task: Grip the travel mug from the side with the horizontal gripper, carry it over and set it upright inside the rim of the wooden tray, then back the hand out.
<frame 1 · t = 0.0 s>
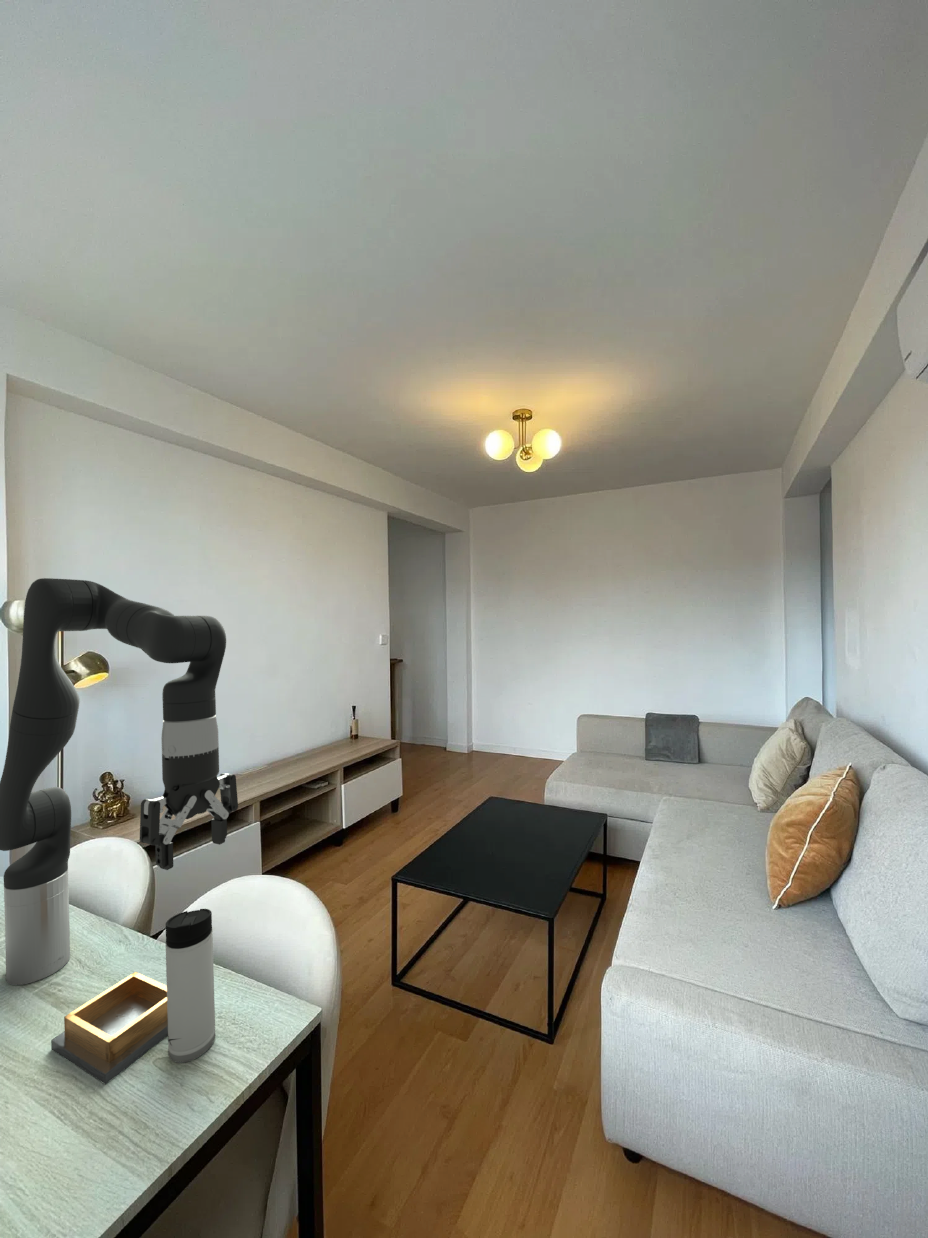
hand: (193, 855, 74), 29 cm above the table, tool pointing down, fingers open, 8 cm apart
wooden tray: (124, 1032, 78), on the table
travel mug: (192, 1048, 75), on the table
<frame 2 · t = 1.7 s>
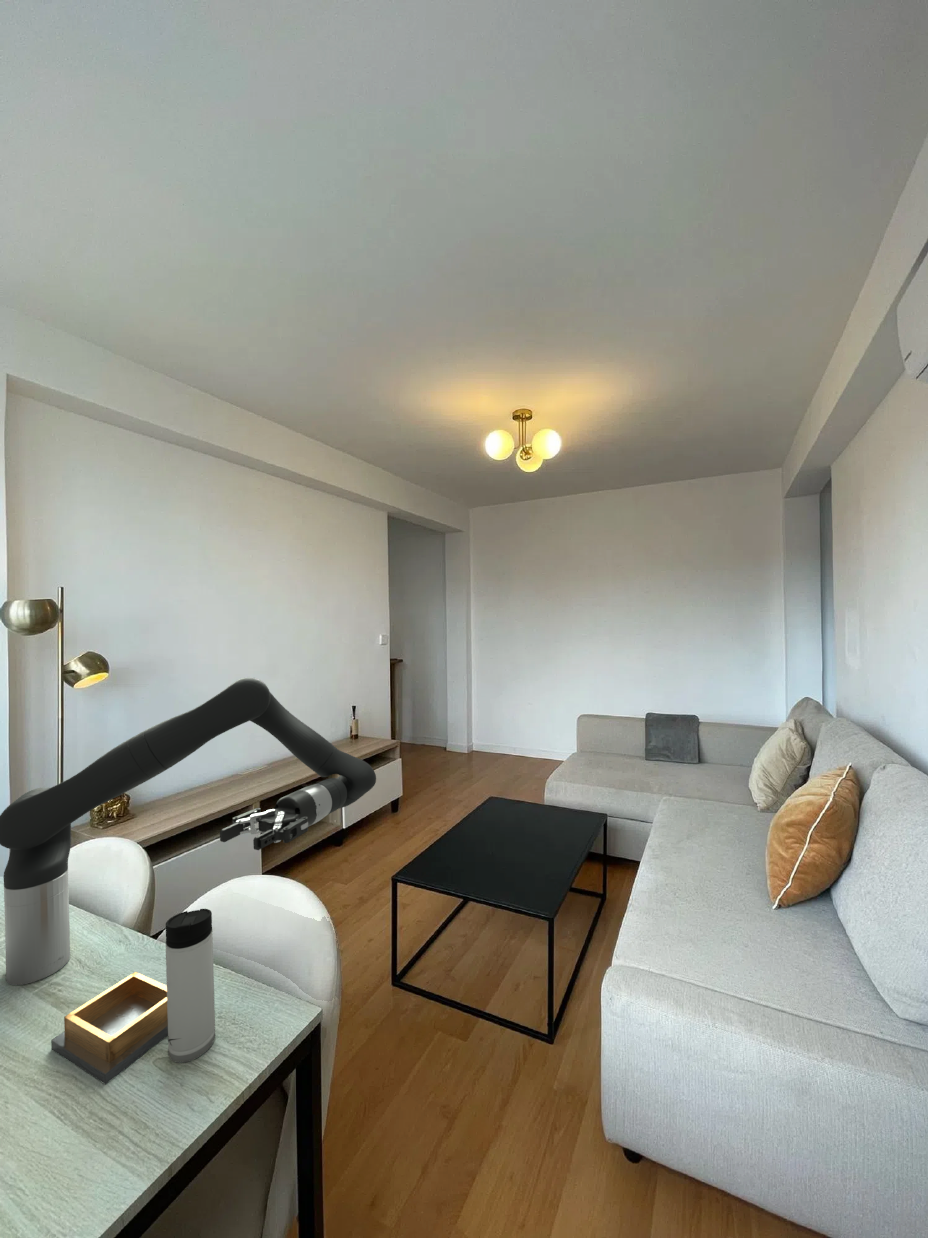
hand: (237, 840, 87), 26 cm above the table, tool horizontal, fingers open, 8 cm apart
nothing on the table moved.
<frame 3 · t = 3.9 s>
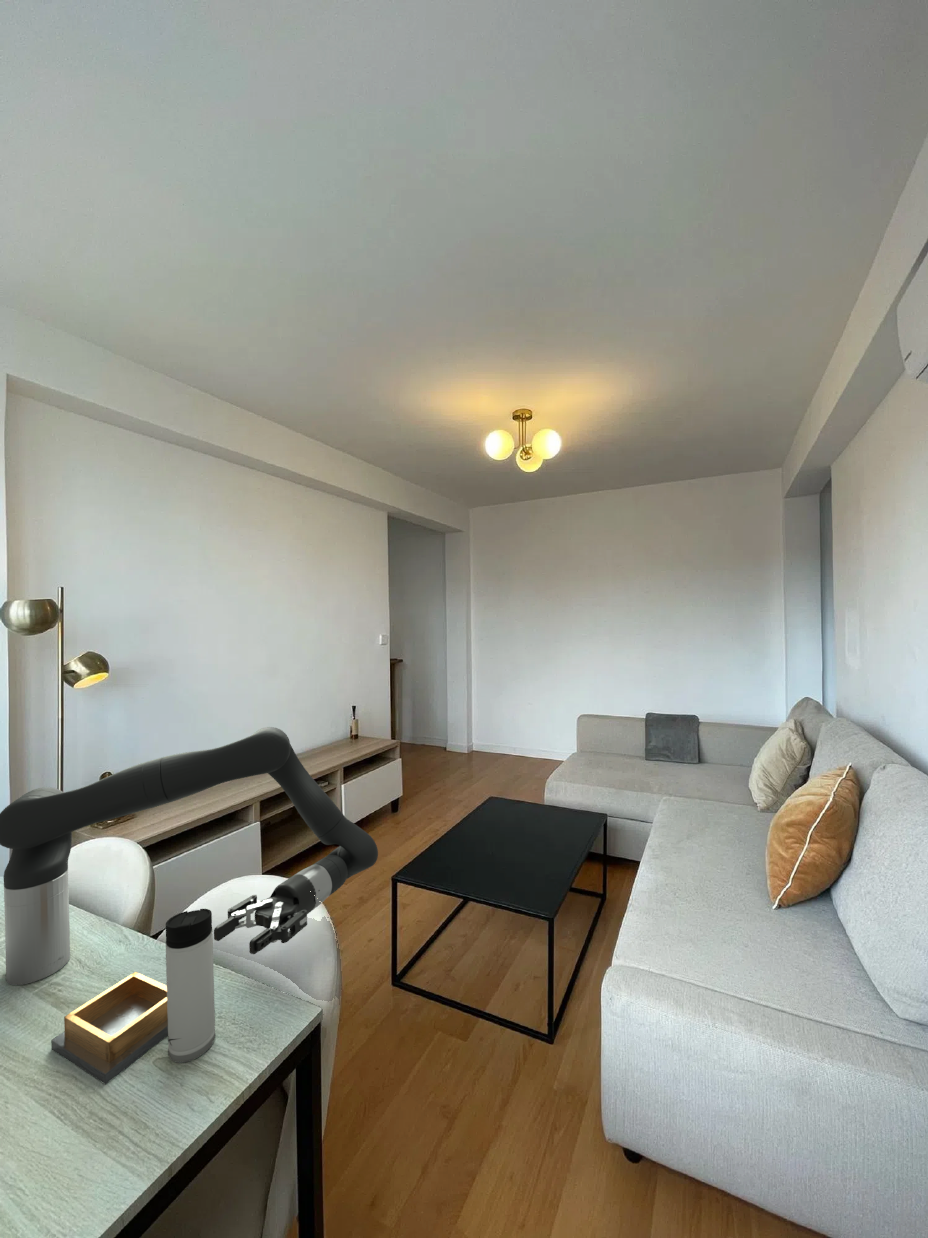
hand: (232, 941, 82), 11 cm above the table, tool horizontal, fingers open, 8 cm apart
nothing on the table moved.
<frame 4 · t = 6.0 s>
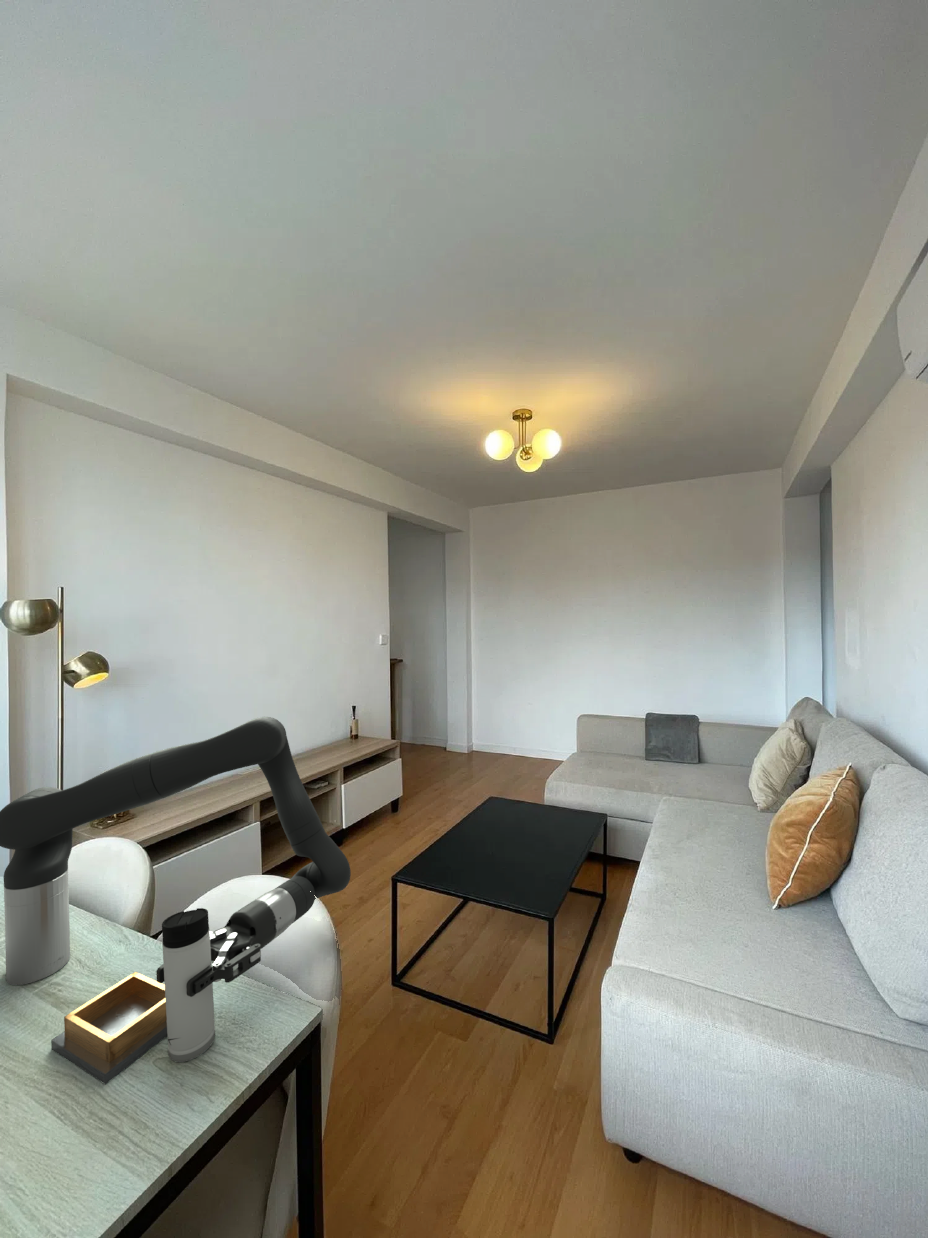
hand: (173, 983, 73), 11 cm above the table, tool horizontal, fingers closed on travel mug, 6 cm apart
travel mug: (192, 1047, 75), on the table, touching gripper
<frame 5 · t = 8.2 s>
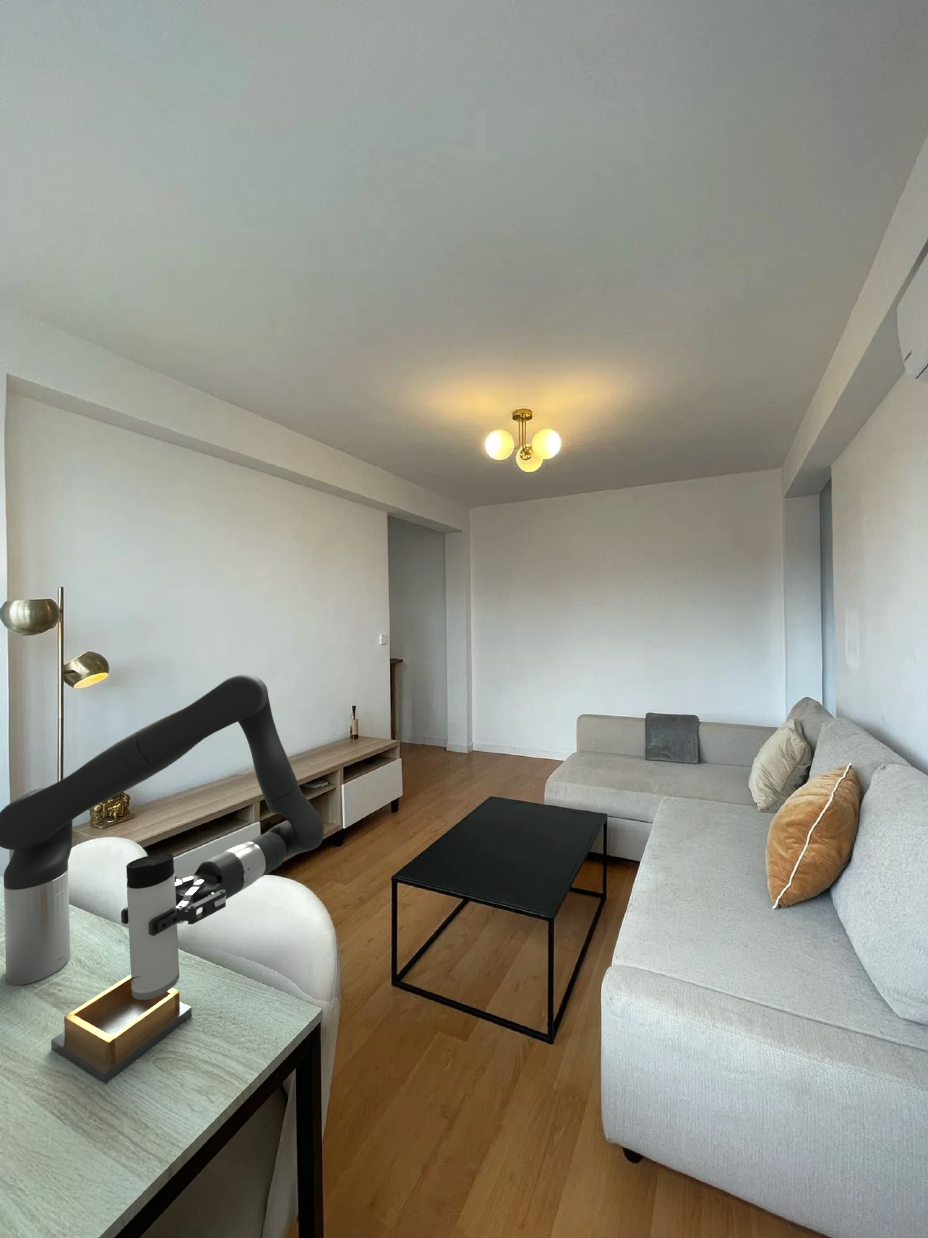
hand: (136, 923, 74), 19 cm above the table, tool horizontal, fingers closed on travel mug, 6 cm apart
travel mug: (155, 987, 76), point 8 cm above the table, touching gripper
when the fingers open (14 cm above the table, at t = 10.6 s): travel mug drops 1 cm, resting on wooden tray.
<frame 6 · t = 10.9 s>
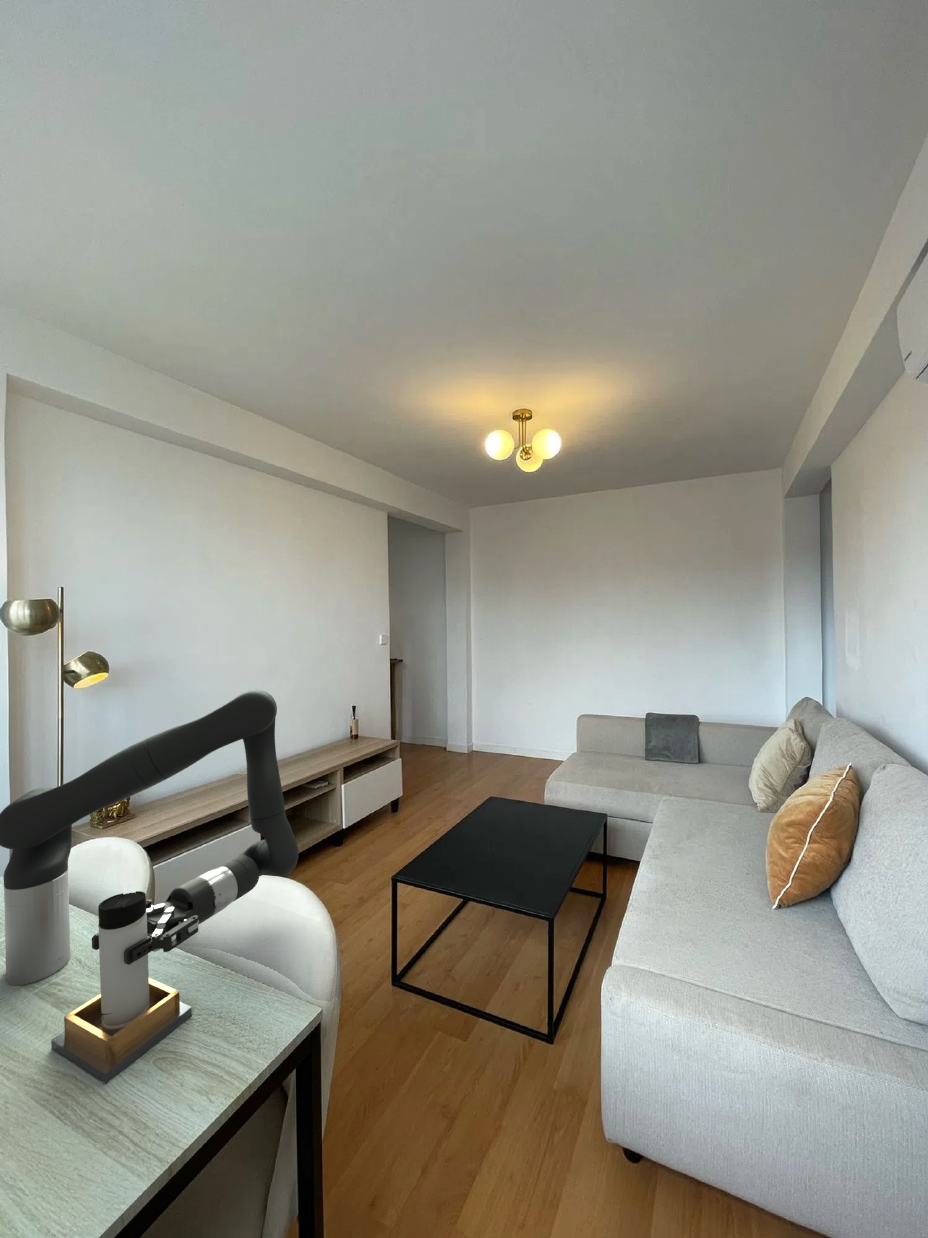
hand: (108, 951, 76), 14 cm above the table, tool horizontal, fingers open, 8 cm apart
travel mug: (126, 1022, 78), point 1 cm above the table, touching wooden tray
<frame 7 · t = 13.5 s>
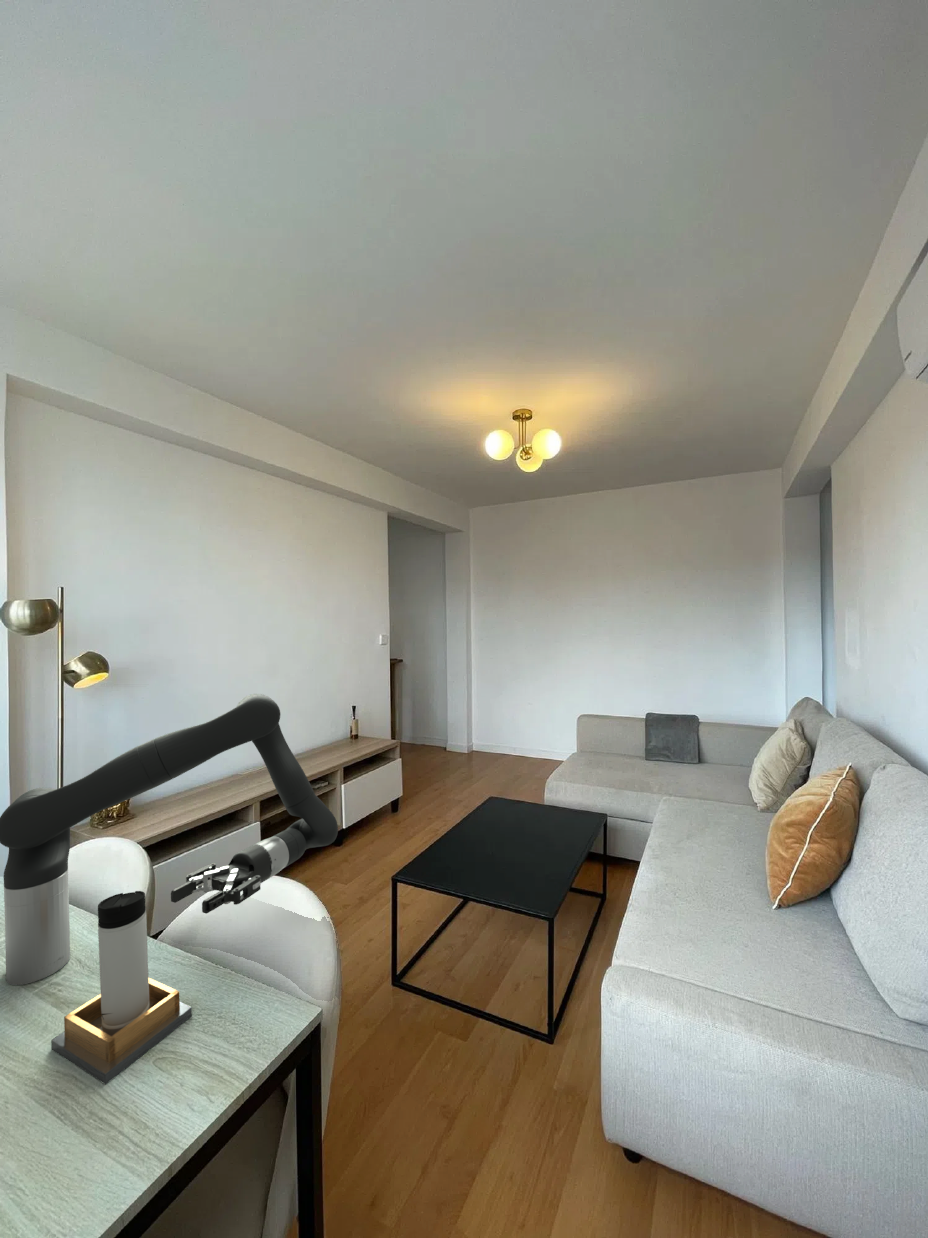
hand: (187, 902, 88), 15 cm above the table, tool horizontal, fingers open, 8 cm apart
nothing on the table moved.
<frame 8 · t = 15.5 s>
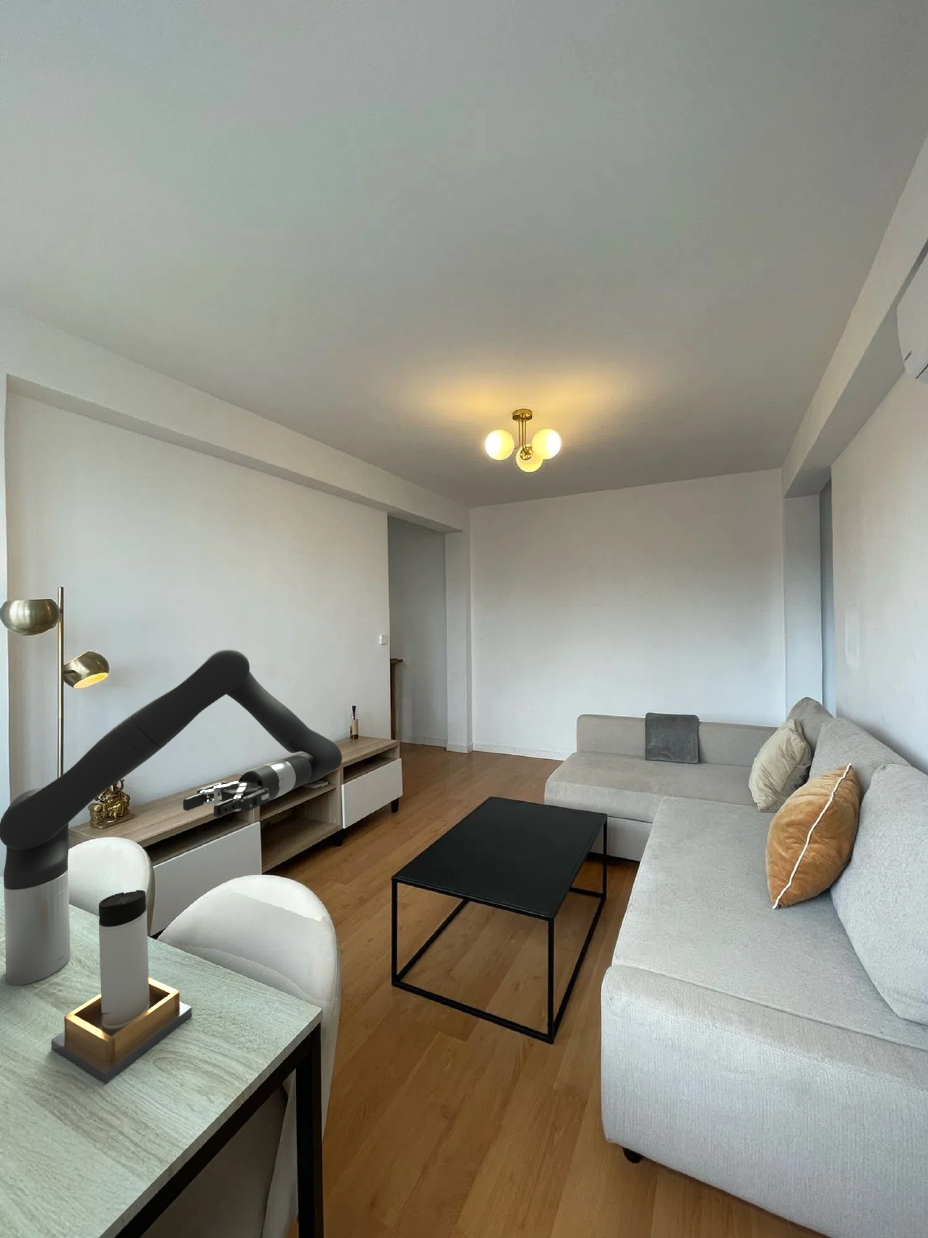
hand: (199, 808, 92), 30 cm above the table, tool horizontal, fingers open, 8 cm apart
nothing on the table moved.
at the end: travel mug 0.3 cm off-centre on the wooden tray, point 1.3 cm above the wooden tray's base; travel mug tilted 0°; the gripper is holding nothing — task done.
